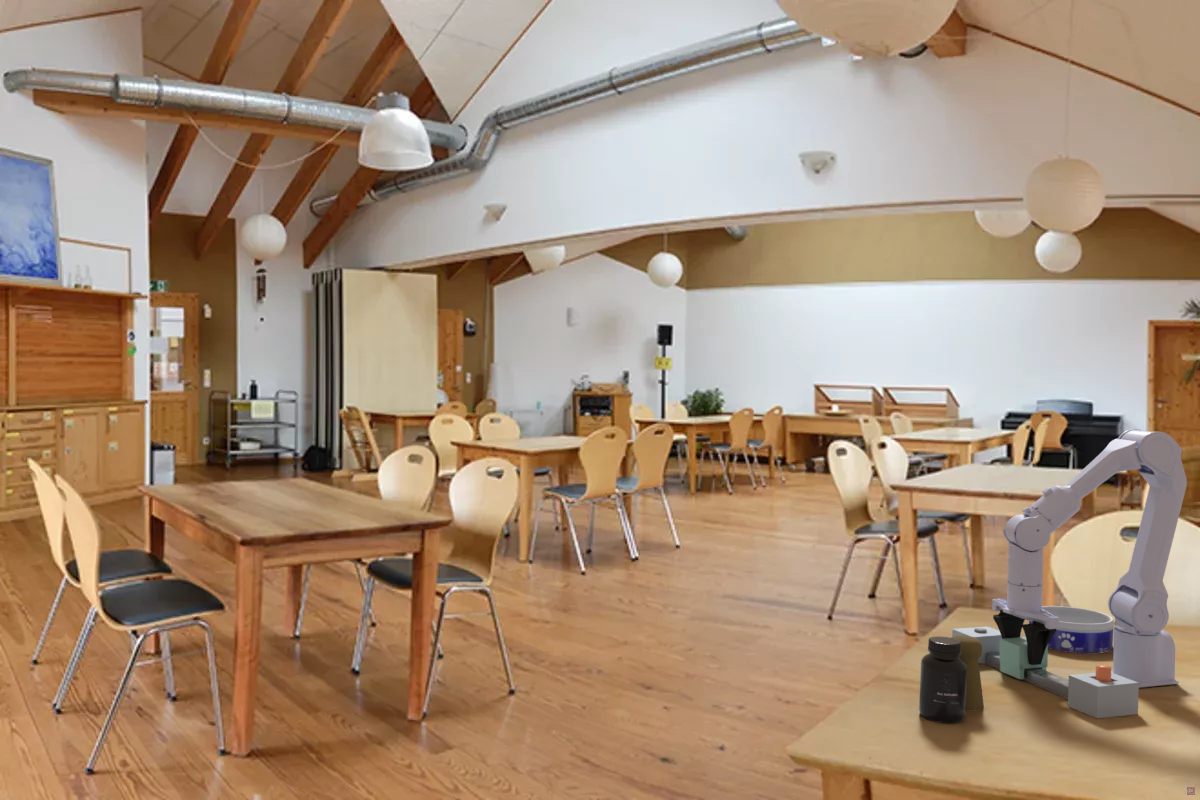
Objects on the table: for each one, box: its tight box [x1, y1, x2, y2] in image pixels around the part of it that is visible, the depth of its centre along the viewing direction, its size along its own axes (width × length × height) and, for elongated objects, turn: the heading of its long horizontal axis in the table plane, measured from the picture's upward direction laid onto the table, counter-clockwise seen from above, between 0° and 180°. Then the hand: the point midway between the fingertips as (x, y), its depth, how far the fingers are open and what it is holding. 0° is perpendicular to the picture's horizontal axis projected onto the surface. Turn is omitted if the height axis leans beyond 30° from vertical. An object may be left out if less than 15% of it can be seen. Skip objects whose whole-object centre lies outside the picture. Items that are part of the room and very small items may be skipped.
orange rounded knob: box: [1095, 663, 1112, 682], centre depth 153 cm, size 2×2×4 cm
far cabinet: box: [951, 625, 1002, 664], centre depth 182 cm, size 8×6×5 cm
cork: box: [950, 635, 985, 712], centre depth 155 cm, size 6×6×11 cm
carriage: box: [999, 636, 1049, 680], centre depth 171 cm, size 6×5×6 cm
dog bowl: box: [1028, 605, 1115, 654], centre depth 193 cm, size 15×15×6 cm
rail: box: [985, 652, 1069, 700], centre depth 168 cm, size 3×22×2 cm, turn 17°
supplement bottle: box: [918, 636, 967, 724], centre depth 149 cm, size 7×7×12 cm
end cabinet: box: [1067, 672, 1140, 719], centre depth 153 cm, size 8×6×5 cm
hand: (1023, 659), depth 171 cm, fingers open, 5 cm apart
